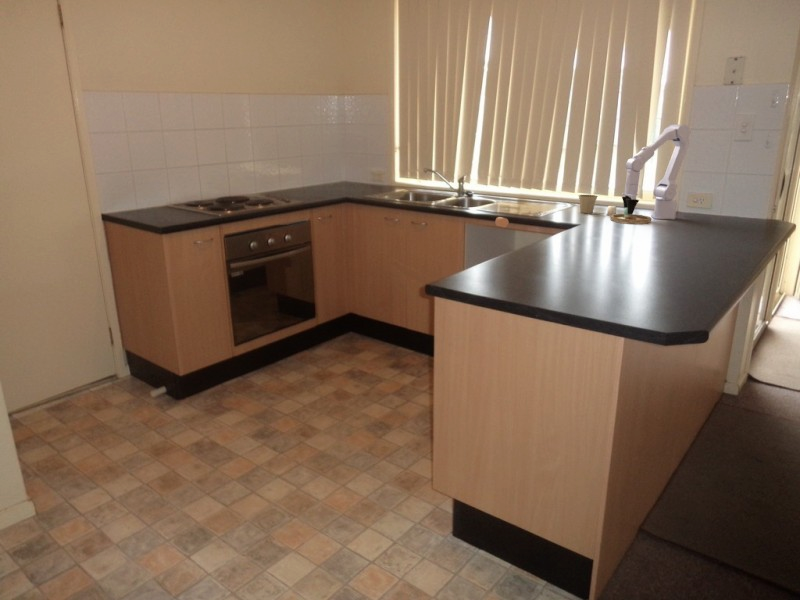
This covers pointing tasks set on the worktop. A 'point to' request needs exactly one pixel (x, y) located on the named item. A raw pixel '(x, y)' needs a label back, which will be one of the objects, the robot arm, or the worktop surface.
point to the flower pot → (587, 203)
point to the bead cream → (611, 210)
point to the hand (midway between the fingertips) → (628, 212)
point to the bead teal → (626, 212)
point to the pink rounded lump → (501, 222)
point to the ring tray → (630, 219)
